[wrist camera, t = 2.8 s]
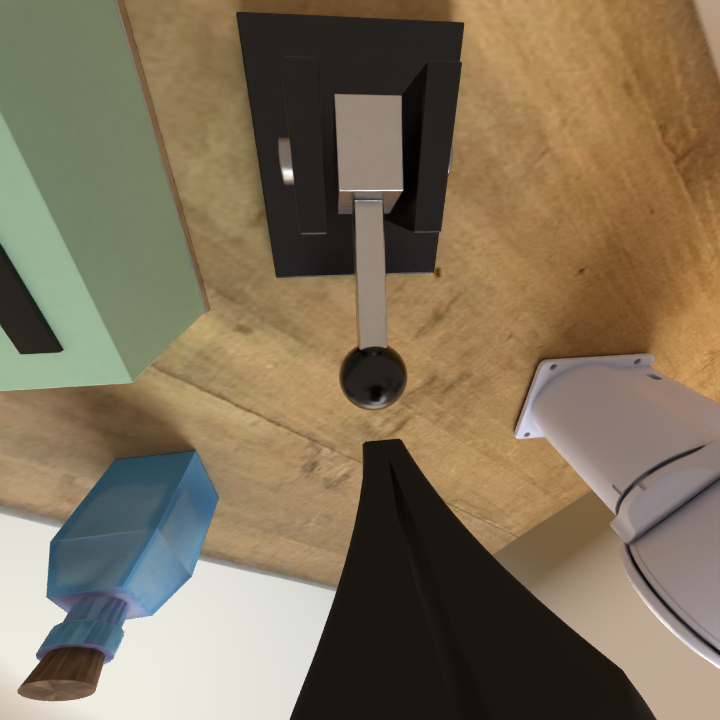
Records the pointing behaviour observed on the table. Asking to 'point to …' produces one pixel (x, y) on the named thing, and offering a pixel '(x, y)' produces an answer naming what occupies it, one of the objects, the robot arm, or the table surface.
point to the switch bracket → (315, 130)
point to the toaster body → (85, 203)
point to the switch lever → (369, 236)
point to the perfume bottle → (119, 564)
